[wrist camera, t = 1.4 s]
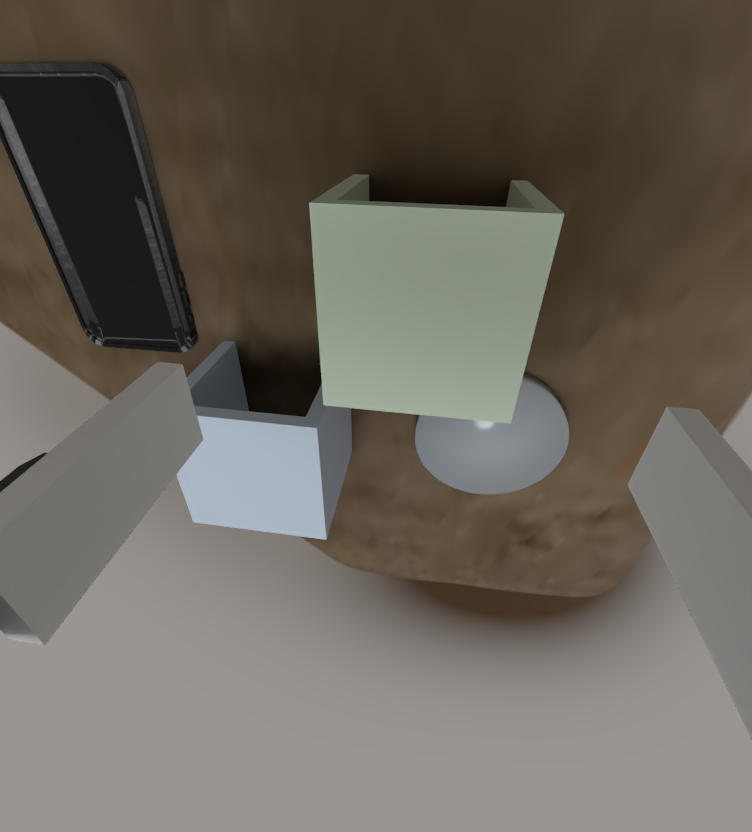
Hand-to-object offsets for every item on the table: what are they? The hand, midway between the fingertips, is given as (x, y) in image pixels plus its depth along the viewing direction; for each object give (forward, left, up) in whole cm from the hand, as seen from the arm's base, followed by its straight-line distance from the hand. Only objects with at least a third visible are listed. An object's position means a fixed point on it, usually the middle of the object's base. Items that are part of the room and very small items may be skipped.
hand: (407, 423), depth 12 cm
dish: (+11, +5, -14) cm, 19 cm away
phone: (-1, -19, -15) cm, 24 cm away
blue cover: (+10, -9, -14) cm, 20 cm away
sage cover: (0, 0, -14) cm, 14 cm away
